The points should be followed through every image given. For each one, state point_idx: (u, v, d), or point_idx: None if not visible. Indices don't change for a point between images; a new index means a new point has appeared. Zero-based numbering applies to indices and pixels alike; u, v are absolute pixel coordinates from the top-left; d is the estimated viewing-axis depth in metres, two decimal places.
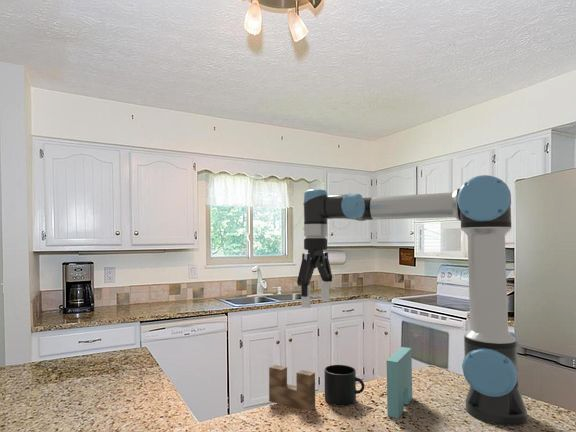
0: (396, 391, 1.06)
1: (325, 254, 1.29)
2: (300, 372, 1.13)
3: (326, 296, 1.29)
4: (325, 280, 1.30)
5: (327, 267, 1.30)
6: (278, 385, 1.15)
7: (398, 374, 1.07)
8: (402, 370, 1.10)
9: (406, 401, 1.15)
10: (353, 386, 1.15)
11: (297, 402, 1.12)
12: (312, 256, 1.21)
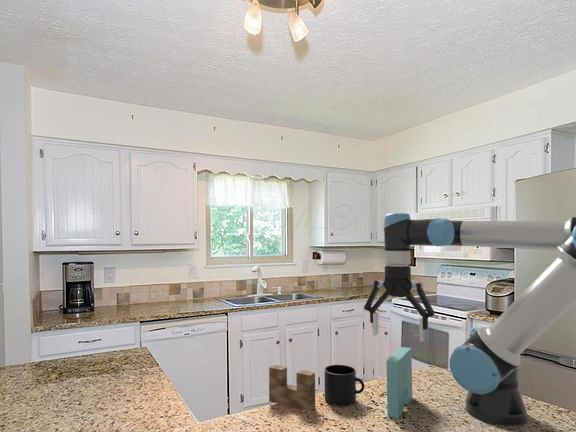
0: (396, 391, 1.06)
1: None
2: (300, 372, 1.13)
3: (420, 335, 1.11)
4: None
5: None
6: (278, 385, 1.15)
7: (398, 374, 1.07)
8: (402, 370, 1.10)
9: (406, 401, 1.15)
10: (353, 386, 1.15)
11: (297, 402, 1.12)
12: (383, 284, 1.17)
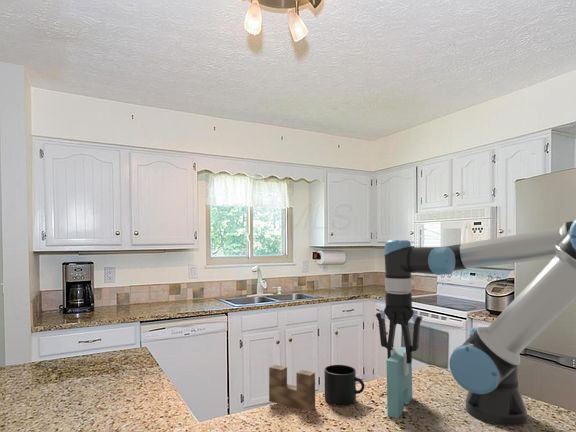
0: (396, 391, 1.06)
1: (416, 318, 1.11)
2: (300, 372, 1.13)
3: (404, 369, 1.12)
4: None
5: None
6: (278, 385, 1.15)
7: (398, 374, 1.07)
8: (402, 370, 1.10)
9: (406, 401, 1.15)
10: (353, 386, 1.15)
11: (297, 402, 1.12)
12: (385, 313, 1.16)
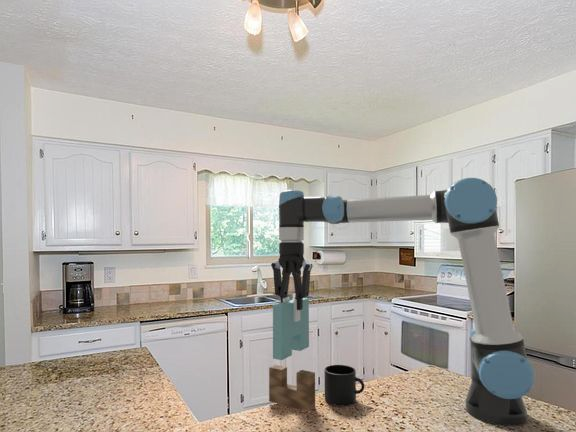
0: (280, 334, 1.08)
1: None
2: (300, 372, 1.13)
3: None
4: None
5: None
6: (278, 385, 1.15)
7: (283, 318, 1.09)
8: (291, 315, 1.13)
9: (299, 348, 1.17)
10: (353, 386, 1.15)
11: (297, 402, 1.12)
12: (279, 262, 1.18)
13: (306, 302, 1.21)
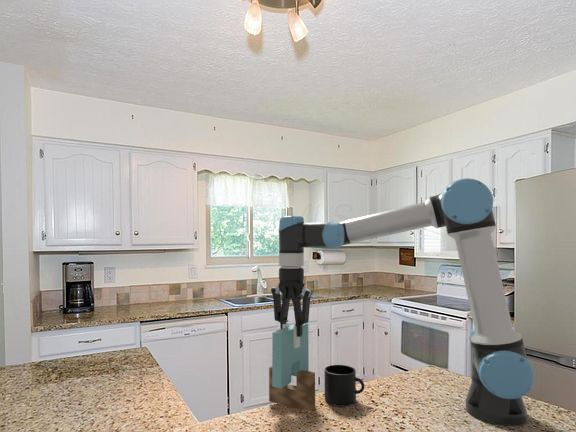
0: (280, 362, 1.08)
1: None
2: (300, 372, 1.13)
3: None
4: None
5: None
6: None
7: (283, 345, 1.09)
8: (290, 342, 1.13)
9: None
10: (353, 386, 1.15)
11: (297, 402, 1.12)
12: (279, 288, 1.18)
13: (306, 327, 1.21)
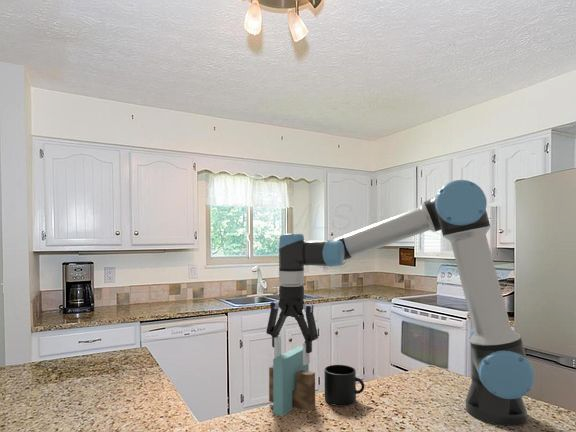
0: (281, 389, 1.07)
1: None
2: (300, 372, 1.13)
3: None
4: None
5: None
6: None
7: (284, 372, 1.08)
8: (291, 368, 1.12)
9: None
10: (353, 386, 1.15)
11: (297, 402, 1.12)
12: (278, 304, 1.18)
13: None
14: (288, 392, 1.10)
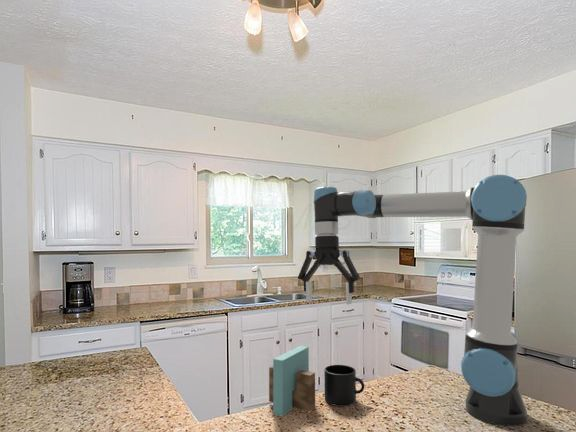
0: (281, 389, 1.07)
1: None
2: (300, 372, 1.13)
3: None
4: None
5: None
6: None
7: (284, 372, 1.08)
8: (291, 368, 1.12)
9: None
10: (353, 386, 1.15)
11: (297, 402, 1.12)
12: (314, 254, 1.25)
13: (306, 351, 1.20)
14: (288, 392, 1.10)
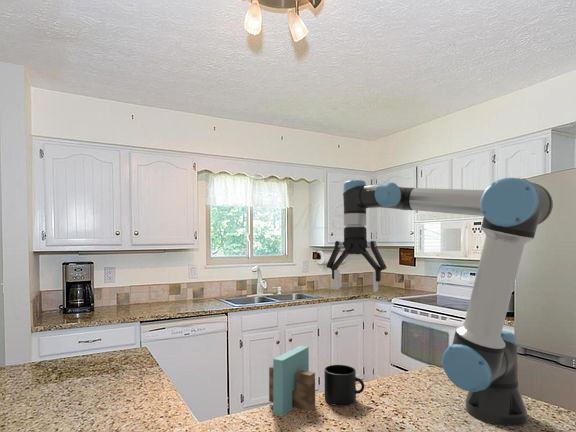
0: (281, 389, 1.07)
1: None
2: (300, 372, 1.13)
3: None
4: None
5: None
6: None
7: (284, 372, 1.08)
8: (291, 368, 1.12)
9: None
10: (353, 386, 1.15)
11: (297, 402, 1.12)
12: (343, 244, 1.31)
13: (306, 351, 1.20)
14: (288, 392, 1.10)
